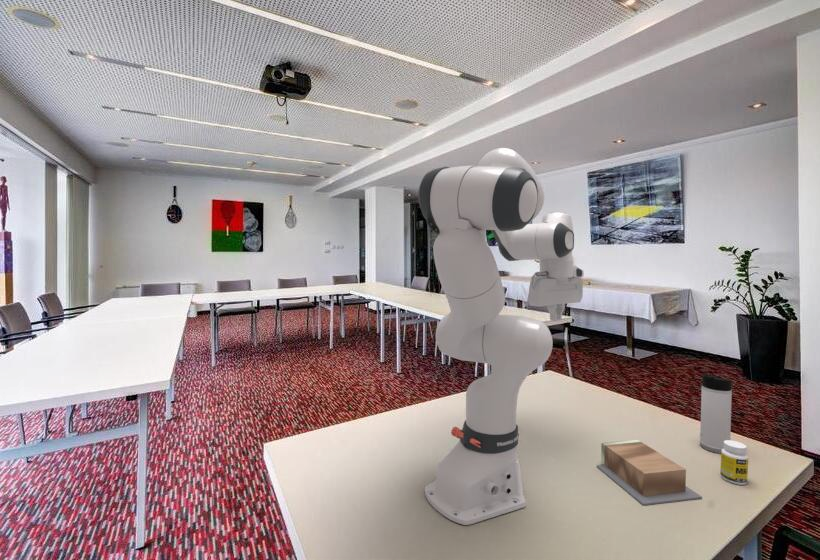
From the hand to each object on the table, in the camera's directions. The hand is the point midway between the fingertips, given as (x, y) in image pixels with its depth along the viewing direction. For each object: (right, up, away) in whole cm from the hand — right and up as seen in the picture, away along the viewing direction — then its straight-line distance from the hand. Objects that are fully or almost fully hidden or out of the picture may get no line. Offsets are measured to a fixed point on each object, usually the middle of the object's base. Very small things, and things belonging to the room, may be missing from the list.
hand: (555, 320), depth 106 cm
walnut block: (+11, -32, -12) cm, 36 cm away
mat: (+13, -35, -20) cm, 42 cm away
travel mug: (+41, -34, -5) cm, 53 cm away
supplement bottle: (+33, -35, -19) cm, 52 cm away
